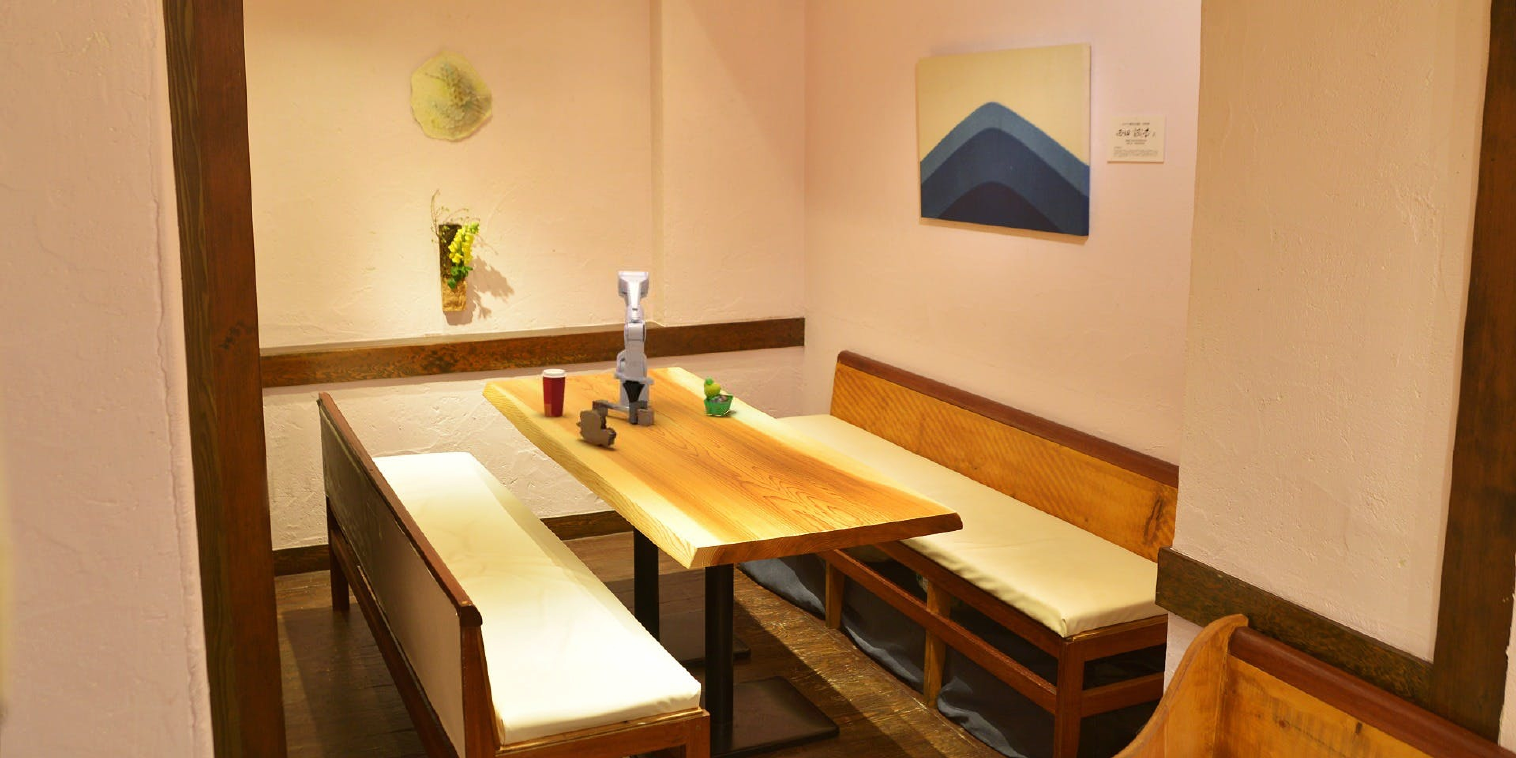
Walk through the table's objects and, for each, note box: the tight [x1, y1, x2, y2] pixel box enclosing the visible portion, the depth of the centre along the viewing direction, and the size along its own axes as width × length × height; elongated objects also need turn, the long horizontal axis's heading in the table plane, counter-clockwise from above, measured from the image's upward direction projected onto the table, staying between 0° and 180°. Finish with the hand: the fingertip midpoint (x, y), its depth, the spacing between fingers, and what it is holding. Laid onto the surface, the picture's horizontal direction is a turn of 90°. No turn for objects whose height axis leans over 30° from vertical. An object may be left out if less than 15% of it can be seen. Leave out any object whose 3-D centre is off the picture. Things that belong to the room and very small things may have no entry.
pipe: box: [591, 399, 655, 427], centre depth 399 cm, size 22×4×5 cm, turn 54°
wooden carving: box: [575, 409, 617, 447], centre depth 368 cm, size 16×5×10 cm, turn 48°
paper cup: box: [540, 368, 567, 418], centre depth 401 cm, size 8×8×14 cm
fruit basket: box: [703, 377, 734, 417], centre depth 412 cm, size 11×9×11 cm
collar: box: [628, 400, 648, 424], centre depth 396 cm, size 2×6×6 cm, turn 144°
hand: (633, 405), depth 396 cm, fingers closed
